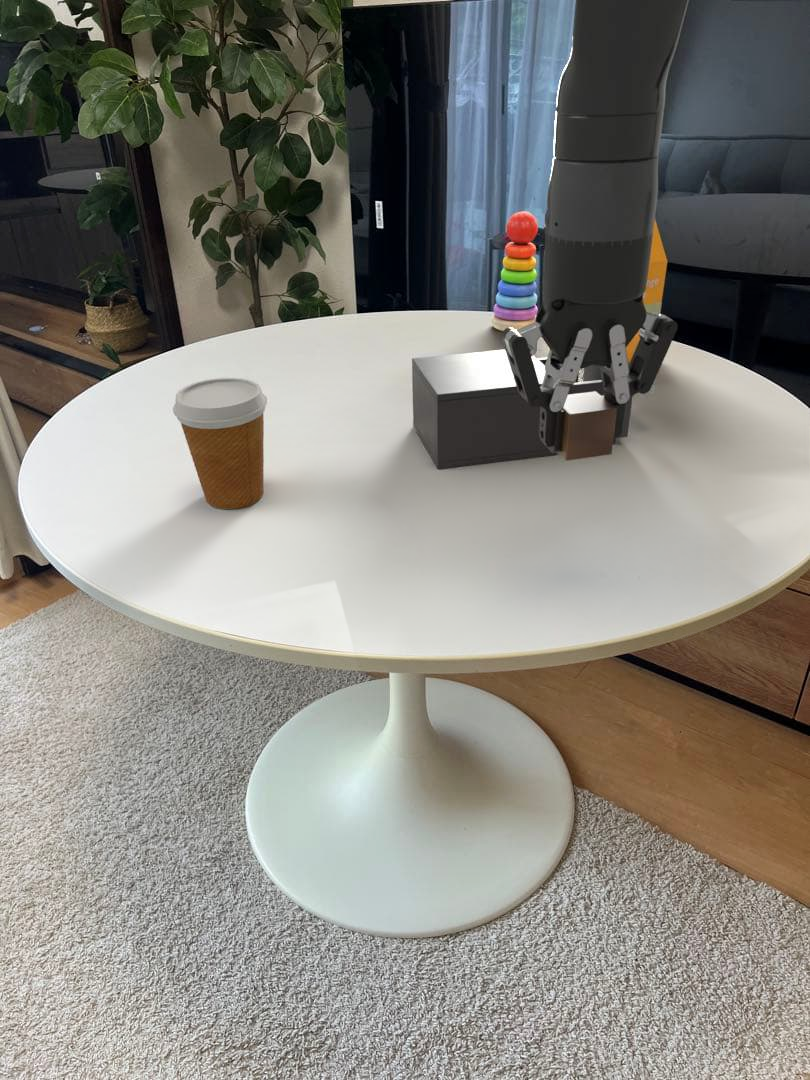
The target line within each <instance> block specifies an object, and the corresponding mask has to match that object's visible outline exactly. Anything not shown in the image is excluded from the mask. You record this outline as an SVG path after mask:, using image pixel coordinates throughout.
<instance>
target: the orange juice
mask: <svg viewBox="0 0 810 1080" xmlns="http://www.w3.org/2000/svg"><path fill="white" fill-rule="evenodd" d="M667 267H668V259H667V255H666V251H665V248H664V245H663V242H662V239H661V234H660V231H659V227H658V224H657V221H656V220H655V222H654V230H653V238H652V246H651V254H650V262H649V270H648V278H647V286H646V290H645V292H644V294H643V303H644V306H645V308H646V312H648V313H652V314H653V313H655V312H659V313H661V311H662V304H663V295H664V287H665V281H666V274H667ZM639 340H640V336H639V331H638V332H637V333H636V335H635V336H634V338H633V339H632V340H631V342H630V343H629V344H628V346H627V347H626V353H627V360H628V364H630V361H631V359H632V357H633V354H634V352H635V350H636V347H637V345H638V342H639Z"/></svg>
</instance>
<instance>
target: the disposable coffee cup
mask: <svg viewBox="0 0 810 1080" xmlns="http://www.w3.org/2000/svg"><path fill="white" fill-rule="evenodd" d="M267 404H268V398H267V396H266V395H265V394H264V393H263V390H262V388H261V386H260V384H258V383H257V382H255V381H254V380H250V379H246V378H241V377H217V378H210V379H205V380H204V379H203V380H200V381H196V382H193V383H190V384H188V385H186V386H184V387H182V388H181V389H179V390H178V391H177V393H176V394H175V403H174V405H173V407H172V413H173V415H174V416H175V417H176V418H177V420H178V422H179V423H180V425H181V429H182V431H183V434H184V437H185V441H186V444H187V446H188V450H189V453H190V456H191V459H192V462H193V465H194V468H195V471H196V475H197V478H198V481H199V483H200V486H201V489H202V492H203V495H204V499H205V502H206V503H207V504H208V505H209V506H211V507H213V508H216V509H221V510H234V509H236V510H237V509H242V508H246V507H248V506H251V505H253V504H255V503H257V502H259V501H260V500H261V499H262V498H263V496H264V494H265V493H264V471H265V470H264V463H265V462H264V461H265V459H264V457H265V456H264V455H265V454H264V453H265V452H264V436H265V433H264V430H265V428H264V424H265V422H264V421H265V420H264V412H265V410H266V407H267Z"/></svg>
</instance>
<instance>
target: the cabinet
mask: <svg viewBox="0 0 810 1080" xmlns="http://www.w3.org/2000/svg"><path fill="white" fill-rule="evenodd" d="M531 357H532V360H533V364H534V367H535V371H536V374H537V378H538V381H539V385H540V387H541V386H542V382H543V379H544V376H545V365H544V364H542V363H541V362H540V361H539V360H538V359H537V358H538V357H536V356H535V354H534V355H533V356H531ZM411 370H412V371H411V375H412V376H411V379H412V380H411V381H412V383H411V384H412V385H411V386H412V427H413V429H414V431H415V432H416V434H417V436H418V438H419V439H420V441H421V443H422V445H423V446H424V448H425V450H426V451H427V453H428V455H429V457H430V458H431V460H432V462H433V464H434V466H435V467H436V469H437V470H443V469H451V468H459V467H468V466H474V465H484V464H490V463H491V464H492V463H500V462H508V461H516V460H523V459H524V460H525V459H532V458H541V457H542V458H543V457H549V456H557V455H558V454H557V453H552V452H551V451H550V450H549V449H548V448H547V447H546V446H545V444H544V443H543V442H542V441H541V439H540V437H539V424H540V407H539V406H537V407H532V406H530V405H529V404H528V402H527V401H526V400H525V399H524V398H523V397H522V396H521V395H520V394H519V392H518V389H517V386H516V383H515V380H514V376H513V373H512V370H511V367H510V363H509V360H508V357H507V354H506V351H505V349H496V350H487V351H486V350H485V351H474V352H463V353H454V354H445V355H434V356H422V357H414V358H411Z"/></svg>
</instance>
